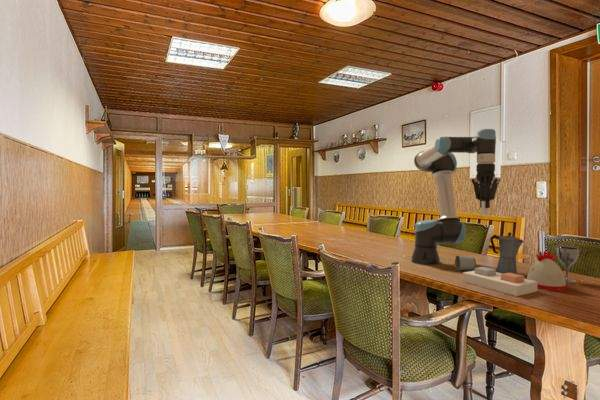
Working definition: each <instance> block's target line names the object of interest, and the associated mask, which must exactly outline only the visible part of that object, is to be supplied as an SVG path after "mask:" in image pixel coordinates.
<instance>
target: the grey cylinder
mask: <svg viewBox="0 0 600 400" xmlns="http://www.w3.org/2000/svg"><path fill="white" fill-rule="evenodd" d="M454 266H455V268H456V270H457V271H464V272H469V271H475V268H477V267H476V266H477V261H476V259H475V257H474V256H472V255H461V254H457V255H456V256H455V260H454Z"/></svg>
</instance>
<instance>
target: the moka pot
mask: <svg viewBox="0 0 600 400" xmlns="http://www.w3.org/2000/svg"><path fill="white" fill-rule="evenodd" d="M494 239H496V240H498V245H499V246H498V249H499V251H496V248H495V242H494ZM524 242H525V241H524V240H523V239H521V238H520V237H516V236H512V232H508V233H507V235H504V236H503V235H498V234H493V235H492V236H491V237H490V244H491V248H492V251H493V253H494V254H497V255H498V254H499V258H498V261H497V262H498V263H497V266H496V272H498V273H502V274H504V273H509V272H510V273H514V274H518V273H517V271H518V270H517V255H518V252H519V249H520V247H521V246H522V245H523V243H524Z"/></svg>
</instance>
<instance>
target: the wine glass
mask: <svg viewBox="0 0 600 400" xmlns="http://www.w3.org/2000/svg"><path fill="white" fill-rule="evenodd" d="M579 253H580V248H579V247H576V246H575V247H574V246H568V245H567V246H566V245H565V246H564V245H559V246H556V255H557V256H556V257H557V259H558V260H559V262H560V263H561V264H562V265H563V267H564V270H565V277H564V278H565V282H566V283H573V284H576V283H577V282H578V281H577V280H575V279H571V278H569V271H570V268H571V267H572V265H574V264H575V263H576V262H577V261H578V259H579V255H580V254H579Z"/></svg>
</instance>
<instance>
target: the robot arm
mask: <svg viewBox="0 0 600 400" xmlns="http://www.w3.org/2000/svg"><path fill="white" fill-rule="evenodd" d="M496 133H497V132H496V130H495V129H494V128H483V129H478V130H477V132H476V136H439V137H436V140H435V142H434V144H433V145H432V146H431V147H428V148H427V149H426V150H422V151H419V152H418V153H417V154H416V155H415V157H414V159H413V162H414V166H415V167H416V169H418V170H419V171H421V172H425V173H426V172H427V173H431V174H432V177H434V179H435V182H436V183H435V184H436V185H435V186H436V191H437V200H438V209H439V210H438V211H439V218H438V219H437V220H436V219H425V220H424V219H423V220H419V221H416V223H415V225H414V226H415V227H414V249H413V252H412V255H411V262H412V263H415V264H419V265H430V266H431V265H439V264H440V263H441V258H440V256H439V251H438V249H437V248H438V247H437V245H438V244H452V245H453V244H459V243H462V242H463V241H464V239H465V237H466V231H467V230H466V229H467V228H466V225H465V223H464V222H461V218H460V217H458V215H457V211H456V209H457V208H456V202H455V193H454V186H453V179H452V178H453V177H452V176H453V175H454V173H455V172H456V170H457V168H458V166H457V165H458V163H457V162H458V161H457V158H456V156H455V154H454V153H456V154H459V153H460V154H461V153H466V154H475V153H476V163H477V164H476V176H475V177H474V178H472V179H470V180H471V183H472V184H473V185H472V186H473V190H474V195H475V199H476V200H478V201H479V207H480V208H481V209H480V211H481V213H480V215H481V216H489V209H490V207H491V201H492V200H495V199H496V198H495V197H496V193H497V189H498V185H499V184H500V181H501V178H498V177H496V175H495V171H496V164H495V163H496V146H497V145H496V144H497V143H496V142H497V140H496V139H497V137H496Z"/></svg>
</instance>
